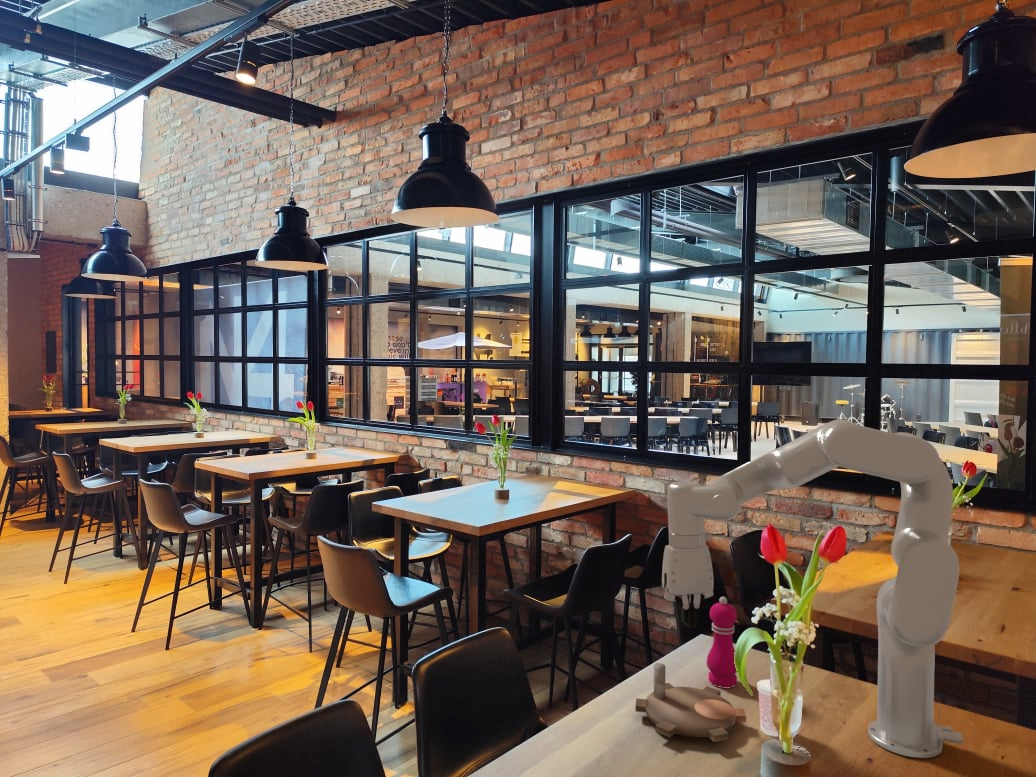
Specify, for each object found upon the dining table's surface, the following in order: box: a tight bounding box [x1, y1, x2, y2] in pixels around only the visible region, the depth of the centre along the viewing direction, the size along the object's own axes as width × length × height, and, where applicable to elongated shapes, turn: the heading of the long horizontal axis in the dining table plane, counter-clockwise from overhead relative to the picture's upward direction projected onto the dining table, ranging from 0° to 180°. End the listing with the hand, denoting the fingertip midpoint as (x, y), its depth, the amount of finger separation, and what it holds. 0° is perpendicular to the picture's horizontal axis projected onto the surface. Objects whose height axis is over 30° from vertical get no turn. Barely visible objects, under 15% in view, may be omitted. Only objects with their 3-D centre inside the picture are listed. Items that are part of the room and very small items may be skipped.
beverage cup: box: [756, 679, 779, 738], centre depth 136 cm, size 6×6×14 cm
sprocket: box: [635, 662, 747, 743], centre depth 140 cm, size 22×20×8 cm
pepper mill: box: [706, 596, 738, 687], centre depth 157 cm, size 7×7×20 cm
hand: (689, 625), depth 146 cm, fingers closed
